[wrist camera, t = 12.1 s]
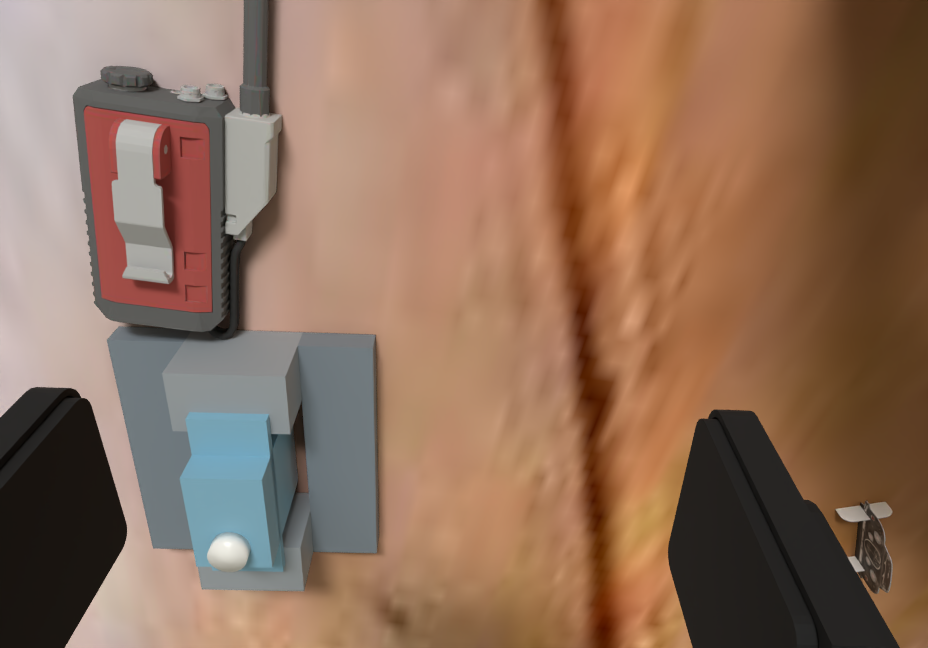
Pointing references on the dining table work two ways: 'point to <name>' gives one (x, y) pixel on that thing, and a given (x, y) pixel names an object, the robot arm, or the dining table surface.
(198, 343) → the block
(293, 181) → the dining table surface
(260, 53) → the walkie-talkie
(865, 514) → the car cutout
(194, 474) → the block
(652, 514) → the dining table surface
